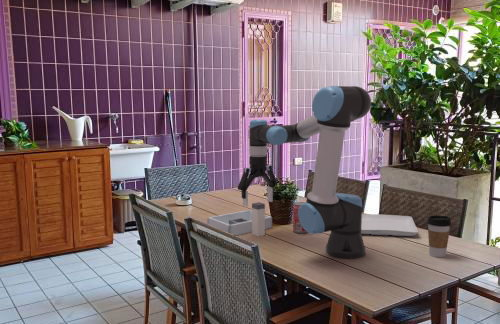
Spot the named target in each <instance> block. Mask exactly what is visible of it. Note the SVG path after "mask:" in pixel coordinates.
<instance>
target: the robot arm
mask: <svg viewBox="0 0 500 324" xmlns="http://www.w3.org/2000/svg"><path fill="white" fill-rule="evenodd" d="M371 107H372V99H371V95H370V94H369V93H368V91H367V90H366V89H364V88H363V87H360V86H356V85H354V86H353V85H352V86H351V85H349V86H346V85H345V86H344V85H343V86H342V85H330V86H324V87H322V88H320V89H319V90H318V91H316V93H315V95H314V97H313V99H312V103H311V110H312V112H313V114H312V115H311V116H309V117H307V118H305V119H303V120H301V121H298V122H297V123H294V124H286V125H285V124H283V125H268V121H267V120H265V119H251V120H250V121H249V128H248V130H249V131H248V132H249V135H248V137H249V156H248V157H249V167H244V168H243V172H242V175H241V178H240V180H239V183H238V186H237V190H238V191H241V199H242V206H243V207H244V206H245V207H249V191H248V189H249V187H250V186H251V184H252V182H253V181H254V180H255V179H256V178H259V177H260V178H263V180H264V181H265V182H266V184H267V185H268V186H267V192H266V193H267V195H266V198H267V202H270V203H273V195H274V190H275V187H276V186H277V185H278V182H277V178H276V177H275V174H274V171H273V166H272V165H270V164H267V163H268V158H267V157H268V156H267V155H268V145H269V144H270V145H273V146H281V145H283V144H290V143H303V142H307V141H309V139H310V138H311V137H313V136H315V135H317V134H319V136H318V137H319V138H318V142H317V143H318V144H317V149H316V158H315V166H314V174H313V180H312V188H311V191H310V192H308V193H307V195H306V203H303V204H302V205H301V206H300V207H299V210H298V217H299V221H300V223H301V225H302V227H303V228H304V229H305V230H306V231H307V233H309V234H311V235H317V234H323V233H326V232H327V233H328V232H330V233H329V237H328V241H327V243H326V246H325V252H326V254H327V255H330V256H331V257H333V258H334V257H335V258H339V259H358V258H361V257H364V256H365V255H366V245H364V240H363V234H361V225H362V214H363V200H362V198H361V197H360V196H359V195H355V194H352V193H344V192H342V193H341V192H337V186H338V178H339V174H340V173H339V172H340V168H341V167H340V166H341V159H342V155H343V154H342V153H343V145H344V138H345V132H346V131H347V130H349V128H351V123H352V122H354V121H357V120H359V119H362V118H364V117H365V116H366V115H367V114H368V113H369V111H370V110H371Z"/></svg>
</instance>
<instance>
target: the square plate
mask: <svg viewBox="0 0 500 324" xmlns="http://www.w3.org/2000/svg"><path fill="white" fill-rule="evenodd" d="M369 234H371V236H388V235H392V236H391V237H413V236H415V235H417V234H419V230H418V227H417V225H416V224H415V221H414V219H413V217H412V216H409V215H408V216H407V215H399V214H398V215H395V214H381V213H380V214H379V213H378V214H377V213H376V214H375V213H374V214H371V213H370V214H369V213H368V214H367V213H365V214H364V213H362V225H361V235H369Z"/></svg>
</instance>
